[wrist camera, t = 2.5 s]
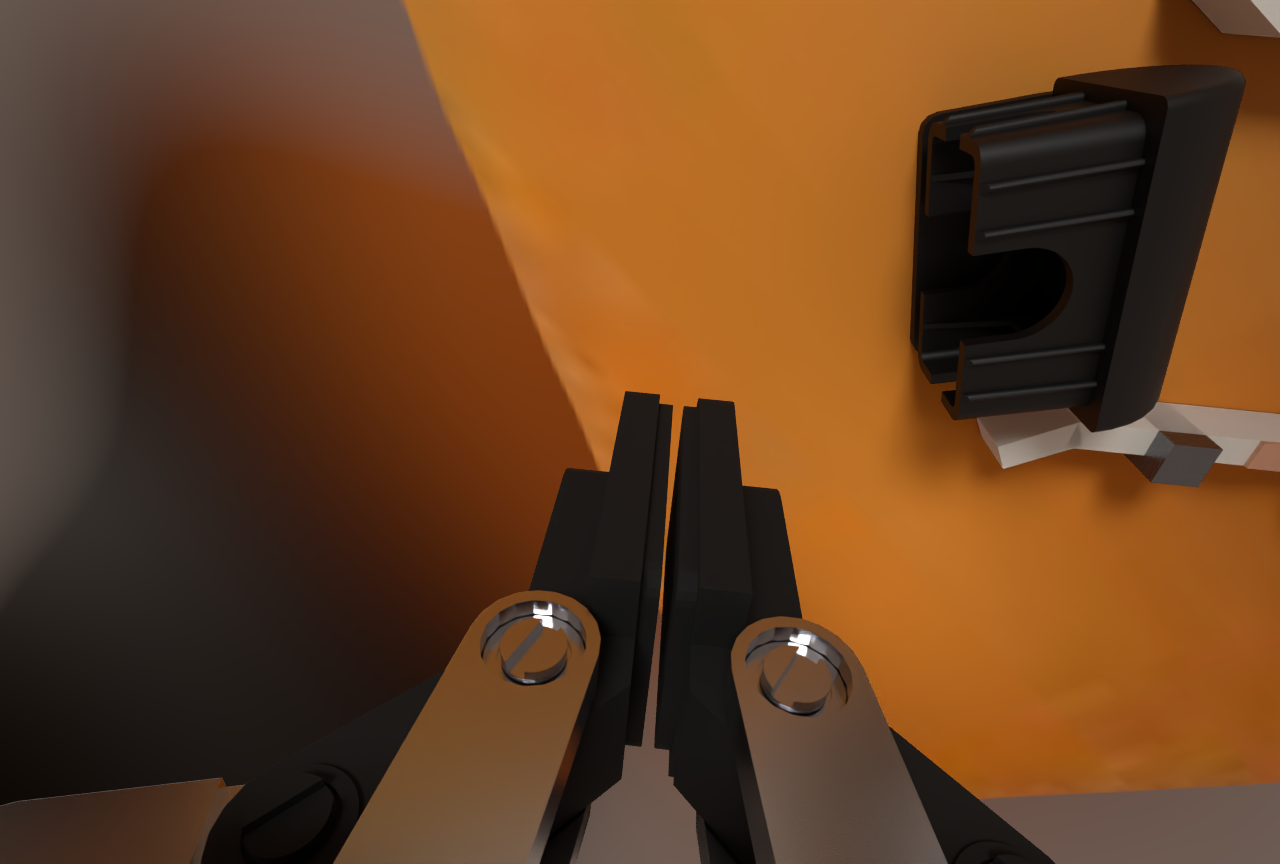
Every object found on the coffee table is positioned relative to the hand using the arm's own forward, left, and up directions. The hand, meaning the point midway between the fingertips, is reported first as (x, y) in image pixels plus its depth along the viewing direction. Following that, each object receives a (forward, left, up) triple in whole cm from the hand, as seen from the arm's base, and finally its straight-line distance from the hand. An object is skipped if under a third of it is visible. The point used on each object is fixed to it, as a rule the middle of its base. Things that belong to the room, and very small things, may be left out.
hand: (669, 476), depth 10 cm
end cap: (0, +12, -17) cm, 21 cm away
